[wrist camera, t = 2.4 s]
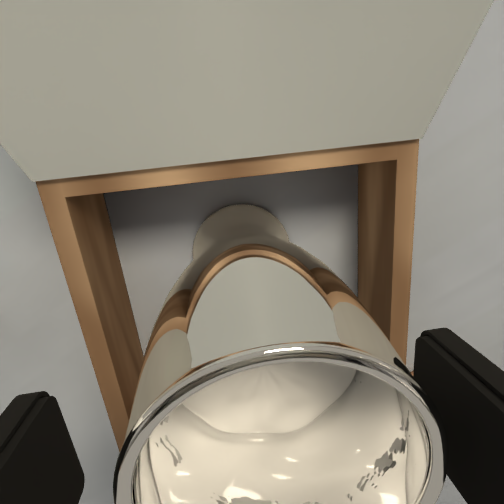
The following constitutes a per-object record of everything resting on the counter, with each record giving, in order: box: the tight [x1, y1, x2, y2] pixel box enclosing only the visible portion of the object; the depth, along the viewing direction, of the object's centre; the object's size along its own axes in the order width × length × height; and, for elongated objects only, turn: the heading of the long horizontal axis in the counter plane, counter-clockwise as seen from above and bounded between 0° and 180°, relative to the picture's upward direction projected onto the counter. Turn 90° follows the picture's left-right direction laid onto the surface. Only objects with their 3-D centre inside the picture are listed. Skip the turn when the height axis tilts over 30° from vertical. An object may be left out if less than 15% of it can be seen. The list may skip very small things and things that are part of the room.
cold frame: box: [36, 139, 419, 451], centre depth 19 cm, size 17×18×4 cm
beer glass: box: [113, 204, 449, 504], centre depth 13 cm, size 7×7×15 cm
